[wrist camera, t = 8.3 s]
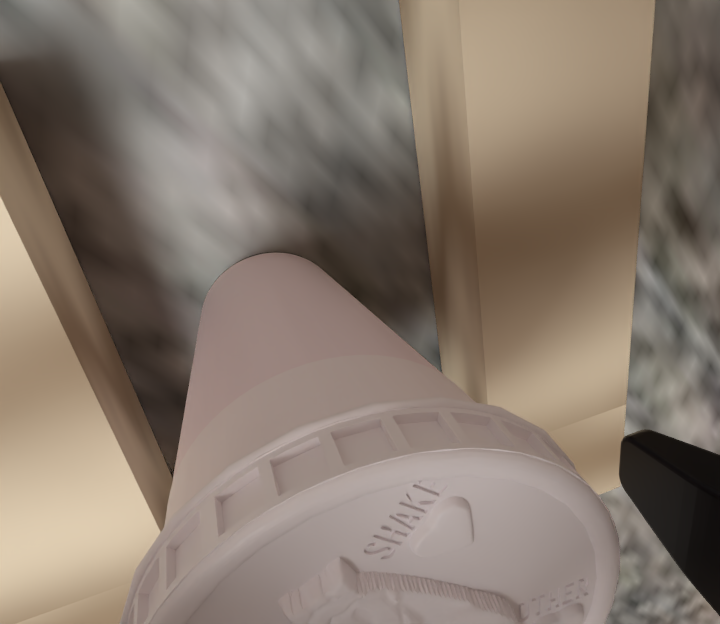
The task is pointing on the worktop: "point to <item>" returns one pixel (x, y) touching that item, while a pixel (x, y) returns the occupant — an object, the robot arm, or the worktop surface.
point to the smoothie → (358, 480)
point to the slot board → (448, 275)
